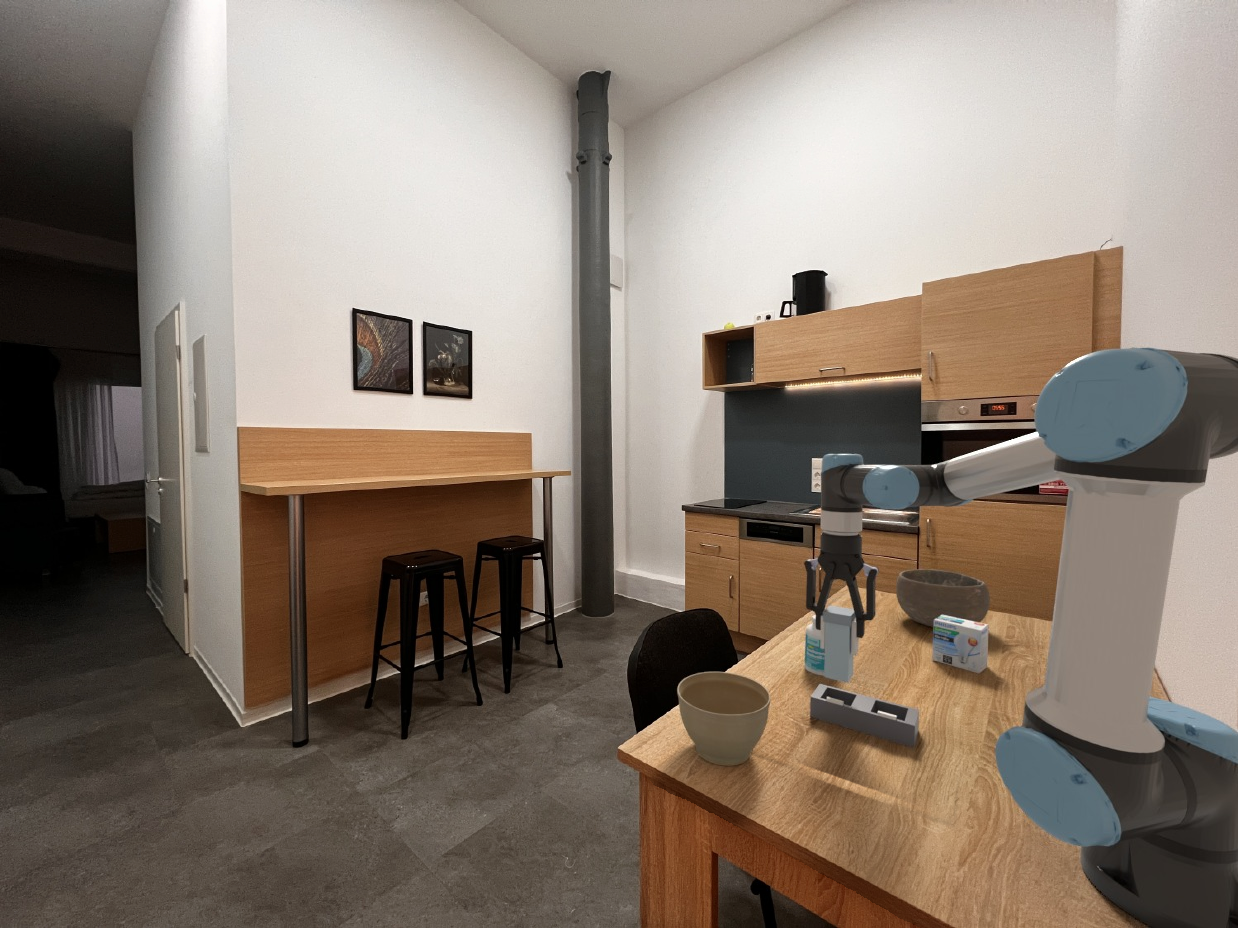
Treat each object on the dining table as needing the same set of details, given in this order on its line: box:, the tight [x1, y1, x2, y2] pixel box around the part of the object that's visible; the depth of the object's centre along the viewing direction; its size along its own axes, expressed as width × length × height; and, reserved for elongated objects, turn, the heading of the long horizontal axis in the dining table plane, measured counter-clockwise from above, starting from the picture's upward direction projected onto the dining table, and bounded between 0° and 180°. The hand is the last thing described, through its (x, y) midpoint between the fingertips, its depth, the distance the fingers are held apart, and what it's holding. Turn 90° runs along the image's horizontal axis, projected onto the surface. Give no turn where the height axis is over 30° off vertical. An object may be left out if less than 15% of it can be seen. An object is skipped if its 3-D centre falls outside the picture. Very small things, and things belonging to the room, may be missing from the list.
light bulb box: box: [931, 615, 989, 674], centre depth 130 cm, size 11×7×11 cm, turn 42°
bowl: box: [895, 568, 991, 628], centre depth 159 cm, size 24×24×15 cm
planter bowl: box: [676, 671, 771, 767], centre depth 92 cm, size 16×16×11 cm
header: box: [809, 683, 920, 749], centre depth 100 cm, size 7×18×6 cm, turn 55°
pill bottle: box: [804, 614, 825, 677], centre depth 124 cm, size 8×7×14 cm
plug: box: [823, 605, 856, 684], centre depth 102 cm, size 5×5×13 cm
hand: (839, 649), depth 102 cm, fingers closed on plug, 5 cm apart
